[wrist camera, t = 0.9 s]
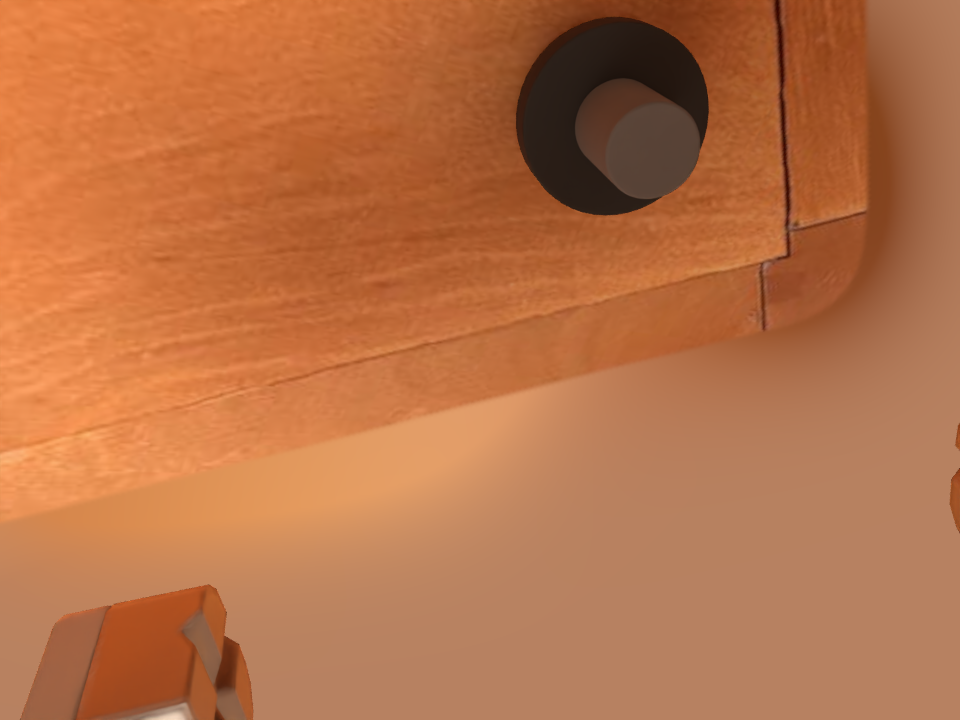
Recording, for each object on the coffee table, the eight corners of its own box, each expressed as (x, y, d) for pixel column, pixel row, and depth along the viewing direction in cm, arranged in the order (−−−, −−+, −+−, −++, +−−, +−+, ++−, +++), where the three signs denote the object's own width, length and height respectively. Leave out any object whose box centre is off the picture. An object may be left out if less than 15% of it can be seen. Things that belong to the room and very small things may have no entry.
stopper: (567, -31, 26) (635, -9, 20) (703, 69, 28) (799, 114, 22) (467, 128, 27) (506, 188, 22) (602, 213, 29) (669, 288, 24)
